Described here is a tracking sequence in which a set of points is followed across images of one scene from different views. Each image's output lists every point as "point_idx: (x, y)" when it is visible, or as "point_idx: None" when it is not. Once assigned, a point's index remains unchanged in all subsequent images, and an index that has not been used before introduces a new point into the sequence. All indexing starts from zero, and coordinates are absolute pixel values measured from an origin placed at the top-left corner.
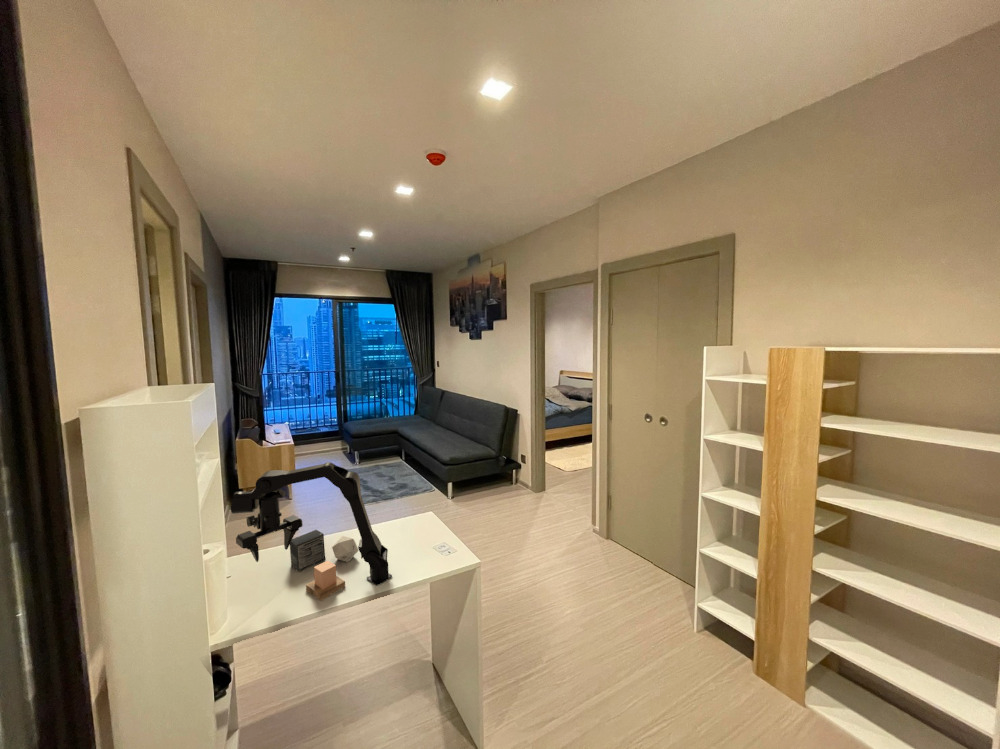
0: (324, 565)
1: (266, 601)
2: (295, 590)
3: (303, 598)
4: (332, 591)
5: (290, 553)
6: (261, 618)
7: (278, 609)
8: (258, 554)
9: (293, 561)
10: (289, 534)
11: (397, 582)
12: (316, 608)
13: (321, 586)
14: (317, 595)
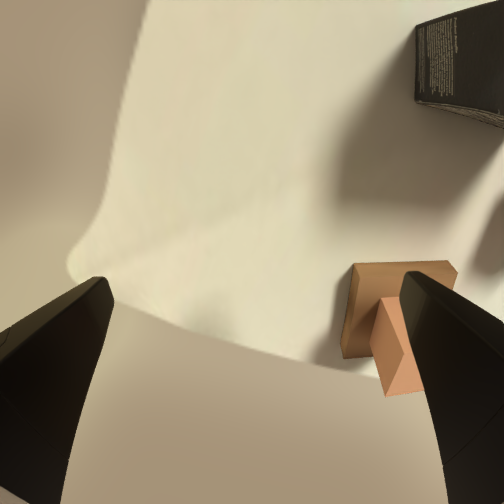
0: None
1: (211, 206)
2: (329, 230)
3: (317, 298)
4: None
5: (452, 16)
6: (169, 287)
7: (227, 288)
8: (86, 391)
9: (434, 52)
10: (455, 487)
11: None
12: (310, 361)
13: (372, 343)
14: (345, 339)
